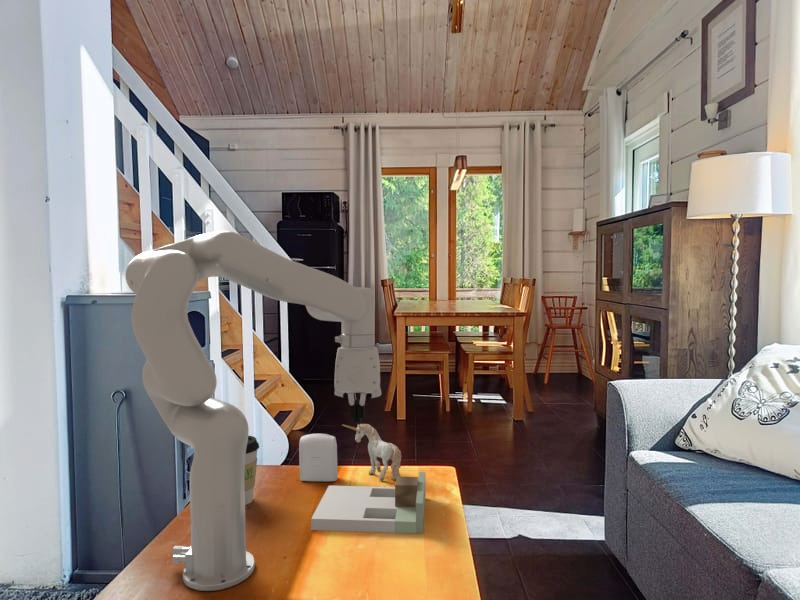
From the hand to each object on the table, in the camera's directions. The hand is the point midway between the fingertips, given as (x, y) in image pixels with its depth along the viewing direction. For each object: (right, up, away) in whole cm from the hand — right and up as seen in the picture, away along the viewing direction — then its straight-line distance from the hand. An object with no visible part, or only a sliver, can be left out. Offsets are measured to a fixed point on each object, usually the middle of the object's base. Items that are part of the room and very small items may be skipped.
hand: (357, 421), depth 120 cm
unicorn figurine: (+2, -21, +22) cm, 30 cm away
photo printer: (-12, -21, +21) cm, 32 cm away
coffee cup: (-29, -21, +8) cm, 37 cm away
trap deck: (+3, -21, +1) cm, 22 cm away
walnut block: (+11, -19, +1) cm, 22 cm away
